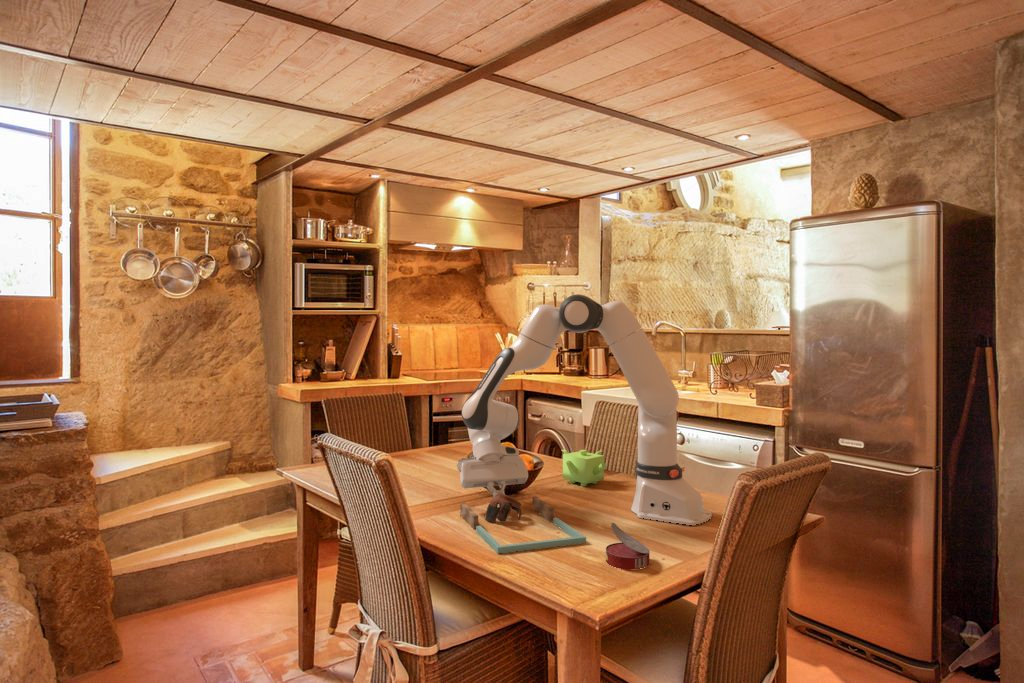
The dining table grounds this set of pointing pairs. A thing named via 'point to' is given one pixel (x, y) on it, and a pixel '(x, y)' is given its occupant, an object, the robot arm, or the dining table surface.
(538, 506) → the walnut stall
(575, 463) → the green knobbed block
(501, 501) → the dark brown curved piece
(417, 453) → the dining table surface
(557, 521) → the teal frame
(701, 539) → the dining table surface
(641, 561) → the canned food
